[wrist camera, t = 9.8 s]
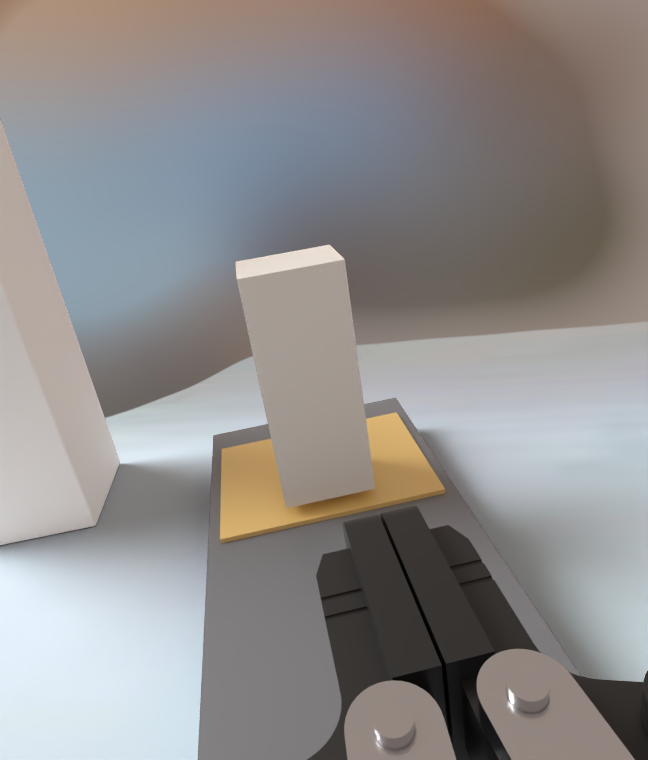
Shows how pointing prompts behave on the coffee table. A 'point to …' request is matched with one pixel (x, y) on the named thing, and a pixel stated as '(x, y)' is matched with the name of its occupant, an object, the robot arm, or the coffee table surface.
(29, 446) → the milk
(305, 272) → the block
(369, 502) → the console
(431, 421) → the coffee table surface
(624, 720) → the robot arm
